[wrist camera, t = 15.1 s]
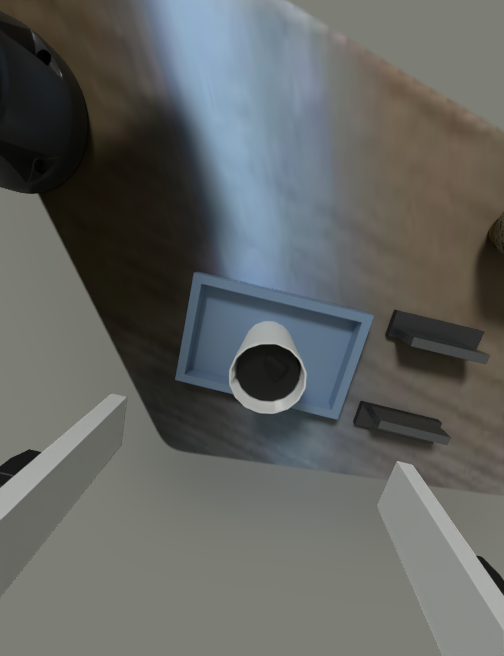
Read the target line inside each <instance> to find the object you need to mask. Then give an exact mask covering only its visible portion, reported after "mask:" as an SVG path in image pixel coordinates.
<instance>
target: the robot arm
mask: <svg viewBox="0 0 504 656" xmlns="http://www.w3.org/2000/svg"><path fill="white" fill-rule="evenodd" d="M87 130H88V123H87V112H86V106H85V102H84V98H83V95H82V92H81V89H80V87H79V84H78V82H77V80H76V78H75V76H74V75H73V73H72V71H71V70H70V68H69V67H68V65H67V64H66V62H65V61H64V60H63V59H62V58H61V56H60V55H59V54H58V53H57V52H56V51H55V50H54V49H53V48H52V47H51V46H50V45H49V44H48V43H47V42H45V41H44V40H43V39H42V38H41V37H40V36H39V35H38V34H37V33H36V32H34V31H33V30H32V29H31V28H29V27H28V26H26V25H25V24H23V23H22V22H20V21H18V20H17V19H15V18H13V17H11V16H9V15H7V14H5V13H3V12H1V11H0V187H2V188H5V189H9V190H13V191H16V192H20V193H28V194H35V193H43V192H47V191H50V190H52V189H54V188H56V187H58V186H60V185H61V184H63V183H64V182H65V181H66V180H67V179H68V178H69V177H70V176H71V175H72V174H73V172H74V171H75V170H76V168H77V166H78V165H79V163H80V161H81V158H82V156H83V153H84V150H85V146H86V140H87ZM126 402H127V397H126V396H122V395H118V394H113V393H111V394H110V395H109V396H107V397H106V398H105V399H104V400H103V401H102V402H101V403H99V404H98V405H97V406H96V407H95V408H93V409H92V410H91V411H90V412H89V413H87V414H86V415H85V416H84V417H83V418H82V419H81V420H79V421H78V422H77V423H76V424H75V425H73V426H72V427H71V428H70V429H69V430H68V431H66V432H65V433H64V434H63V435H62V436H61V437H59V438H58V439H57V440H56V441H55V442H53V443H52V444H51V445H50V446H49V447H48V448H46V449H45V450H44V451H43V452H38V451H34V450H30V449H29V450H27V451H25V452H23V453H21V454H19V455H17V456H15V457H12V458H10V459H9V460H8V461H7V462H5V463H4V464H3V465H1V466H0V598H1V596H2V595H3V594H4V593H5V591H6V590H7V589H8V587H9V586H10V585H11V584H12V582H13V581H14V580H15V579H16V577H17V576H18V575H19V574H20V572H21V571H22V570H23V568H24V567H25V566H26V565H27V564H28V562H29V561H30V560H31V558H32V557H33V556H34V555H35V553H36V552H37V551H38V550H39V548H40V547H41V546H42V545H43V543H44V542H45V541H46V540H47V538H48V537H49V536H50V534H51V533H52V532H53V531H54V529H55V528H56V527H57V525H58V524H59V523H60V522H61V521H62V519H63V518H64V517H65V516H66V514H67V513H68V512H69V511H70V509H71V508H72V507H73V505H74V504H75V503H76V502H77V500H78V499H79V498H80V497H81V495H82V494H83V493H84V491H85V490H86V489H87V488H88V487H89V485H90V484H91V483H92V481H93V480H94V479H95V478H96V476H97V475H98V474H99V473H100V471H101V470H102V469H103V468H104V466H105V465H106V464H107V462H108V461H109V460H110V459H111V458H112V456H113V455H114V454H115V452H116V451H117V450H118V449H119V447H120V446H121V444H122V435H123V427H124V419H125V411H126ZM377 507H378V510H379V512H380V514H381V517H382V519H383V521H384V523H385V525H386V528H387V530H388V532H389V535H390V537H391V539H392V542H393V544H394V546H395V549H396V551H397V553H398V555H399V558H400V560H401V562H402V565H403V567H404V569H405V572H406V574H407V576H408V578H409V581H410V583H411V585H412V587H413V590H414V592H415V595H416V597H417V599H418V601H419V604H420V606H421V608H422V611H423V613H424V615H425V618H426V620H427V622H428V624H429V627H430V629H431V631H432V634H433V636H434V638H435V641H436V642H437V645H438V647H439V650H440V652H441V654H442V656H504V580H503V579H502V578H501V576H500V575H499V574H498V573H497V572H496V571H495V570H494V569H493V568H492V567H491V566H490V565H489V564H488V562H487V561H485V560H484V558H482V557H480V556H476V555H475V554H474V552H473V551H472V550H471V548H470V547H469V545H468V544H467V543H466V541H465V540H464V538H463V537H462V535H461V534H460V532H459V531H458V529H457V528H456V527H455V525H454V524H453V522H452V521H451V519H450V518H449V517H448V515H447V514H446V512H445V511H444V509H443V508H442V506H441V505H440V504H439V502H438V501H437V499H436V498H435V496H434V495H433V493H432V492H431V491H430V489H429V488H428V486H427V485H426V483H425V482H424V481H423V479H422V478H421V476H420V475H419V473H418V472H417V470H416V469H415V468H414V466H413V465H411V464H407V463H403V462H398V461H397V462H396V464H395V466H394V469H393V471H392V473H391V476H390V478H389V480H388V482H387V485H386V487H385V489H384V492H383V494H382V496H381V498H380V501H379V503H378V505H377Z"/></svg>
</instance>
